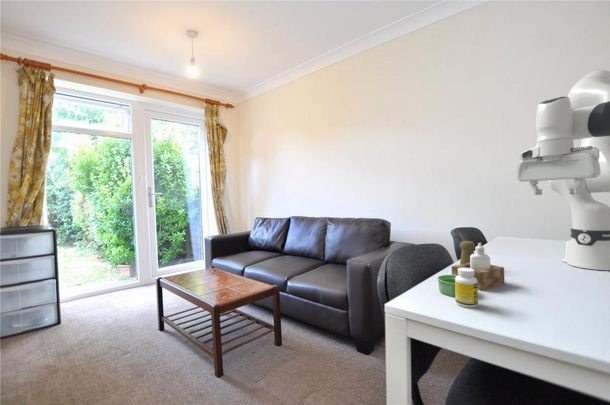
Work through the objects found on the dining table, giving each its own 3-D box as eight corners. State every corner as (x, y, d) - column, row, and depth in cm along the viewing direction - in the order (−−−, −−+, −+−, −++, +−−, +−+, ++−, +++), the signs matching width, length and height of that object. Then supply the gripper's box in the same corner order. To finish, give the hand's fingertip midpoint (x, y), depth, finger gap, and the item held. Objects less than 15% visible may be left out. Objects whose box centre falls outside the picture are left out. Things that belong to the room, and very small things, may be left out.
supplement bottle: (478, 309, 75) (476, 272, 75) (454, 306, 78) (453, 270, 78) (478, 302, 80) (477, 267, 79) (456, 299, 83) (455, 266, 82)
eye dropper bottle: (487, 282, 92) (487, 245, 91) (468, 278, 96) (467, 243, 95) (492, 278, 94) (491, 242, 93) (473, 274, 99) (472, 240, 98)
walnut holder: (475, 276, 103) (475, 261, 103) (504, 284, 94) (504, 267, 93) (452, 282, 98) (451, 266, 98) (480, 290, 89) (479, 273, 89)
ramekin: (466, 300, 82) (465, 285, 82) (433, 294, 88) (433, 279, 88) (473, 291, 88) (473, 277, 88) (443, 286, 95) (442, 273, 94)
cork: (460, 270, 111) (459, 242, 111) (458, 266, 117) (457, 239, 116) (478, 271, 109) (477, 242, 109) (475, 267, 115) (474, 240, 114)
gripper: (604, 144, 81) (605, 193, 81) (524, 155, 100) (525, 194, 100) (593, 144, 78) (594, 194, 79) (513, 155, 97) (514, 195, 97)
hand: (555, 194), depth 90 cm, fingers open, 8 cm apart
